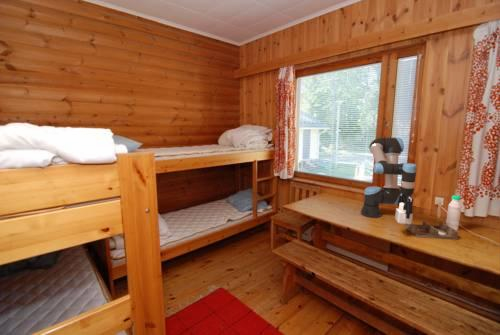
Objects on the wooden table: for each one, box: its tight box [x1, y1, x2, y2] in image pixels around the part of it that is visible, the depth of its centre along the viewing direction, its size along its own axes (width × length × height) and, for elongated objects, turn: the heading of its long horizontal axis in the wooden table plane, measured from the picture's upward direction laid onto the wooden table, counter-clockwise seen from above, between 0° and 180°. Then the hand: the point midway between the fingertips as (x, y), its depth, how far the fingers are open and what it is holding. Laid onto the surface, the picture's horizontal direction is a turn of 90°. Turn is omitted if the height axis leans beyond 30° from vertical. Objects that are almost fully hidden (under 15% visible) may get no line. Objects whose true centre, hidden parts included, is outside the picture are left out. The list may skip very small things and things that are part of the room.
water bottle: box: [445, 194, 462, 231], centre depth 168 cm, size 7×7×25 cm
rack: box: [403, 220, 459, 241], centre depth 164 cm, size 18×24×6 cm
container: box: [394, 202, 414, 225], centre depth 160 cm, size 8×8×13 cm
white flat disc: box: [437, 229, 446, 236], centre depth 164 cm, size 8×8×1 cm
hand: (403, 219), depth 161 cm, fingers closed on container, 8 cm apart
